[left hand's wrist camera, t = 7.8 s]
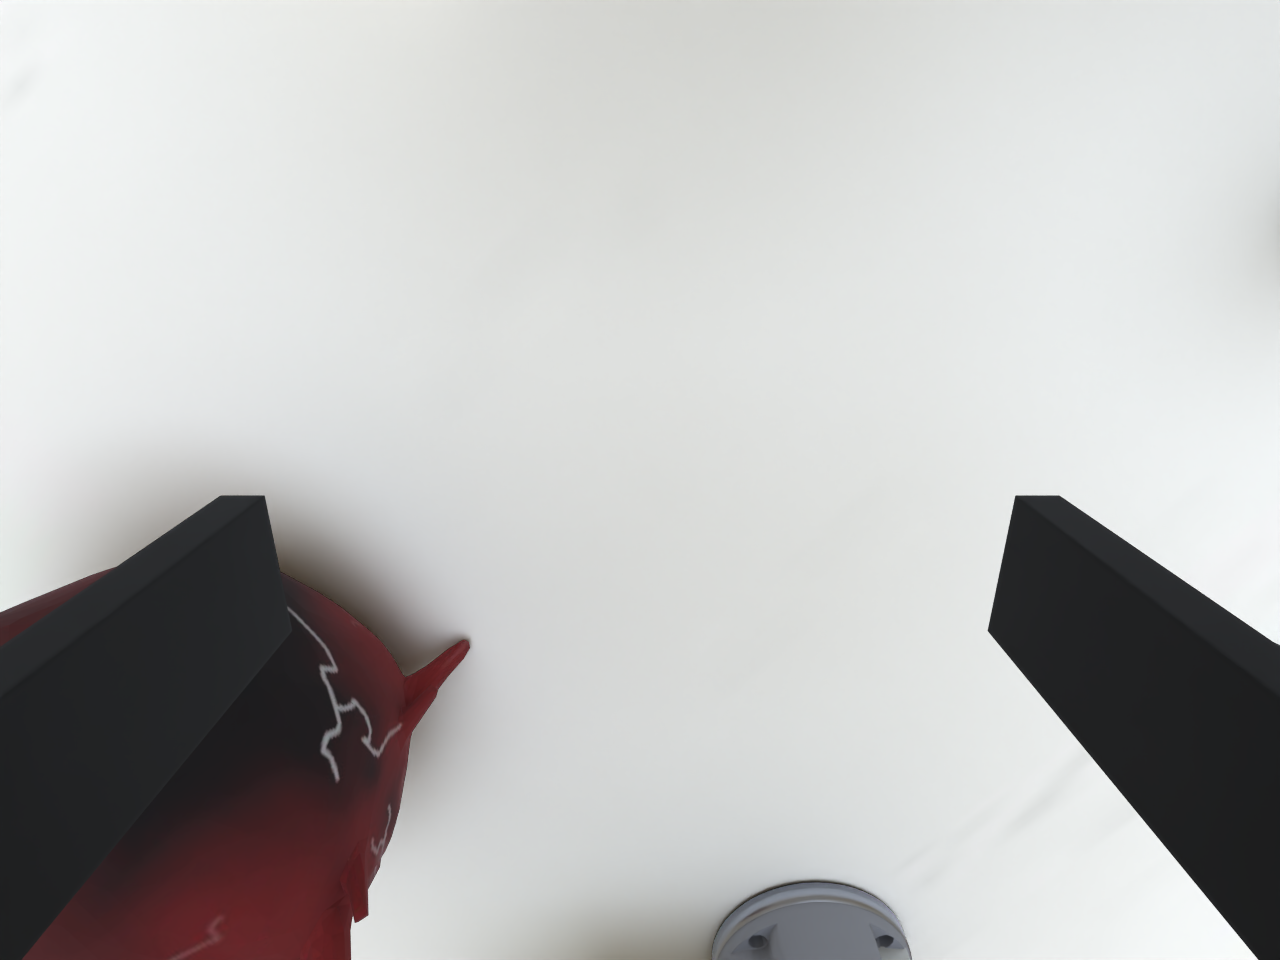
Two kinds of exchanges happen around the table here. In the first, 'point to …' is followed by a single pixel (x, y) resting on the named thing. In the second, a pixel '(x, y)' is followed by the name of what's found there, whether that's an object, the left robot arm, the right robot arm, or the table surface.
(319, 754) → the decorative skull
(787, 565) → the table surface
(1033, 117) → the table surface
